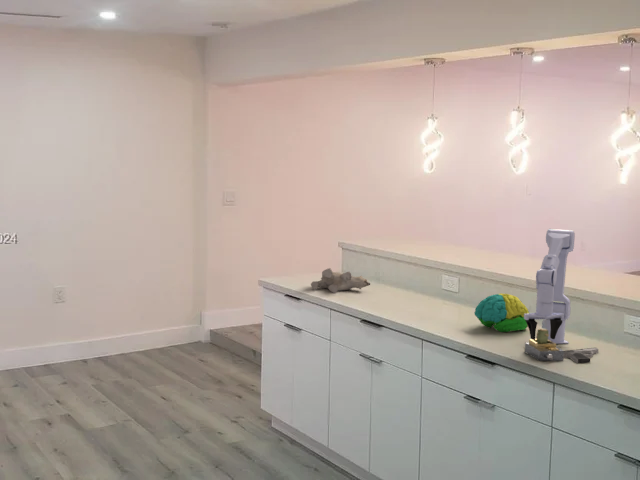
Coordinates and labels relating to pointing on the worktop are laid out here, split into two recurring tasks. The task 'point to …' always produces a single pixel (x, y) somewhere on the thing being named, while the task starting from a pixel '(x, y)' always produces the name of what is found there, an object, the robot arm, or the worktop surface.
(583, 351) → the handgun
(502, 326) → the brain model
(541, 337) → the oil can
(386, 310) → the worktop surface
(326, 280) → the animal model
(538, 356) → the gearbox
